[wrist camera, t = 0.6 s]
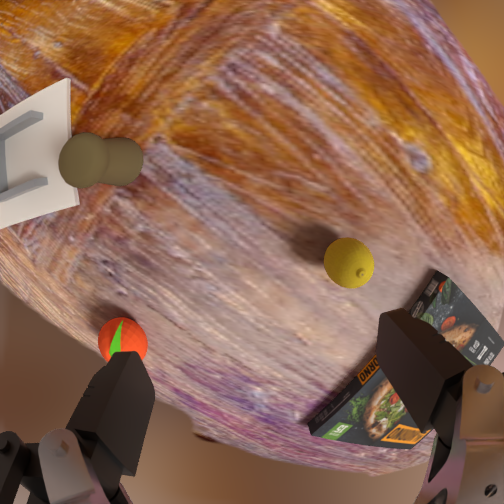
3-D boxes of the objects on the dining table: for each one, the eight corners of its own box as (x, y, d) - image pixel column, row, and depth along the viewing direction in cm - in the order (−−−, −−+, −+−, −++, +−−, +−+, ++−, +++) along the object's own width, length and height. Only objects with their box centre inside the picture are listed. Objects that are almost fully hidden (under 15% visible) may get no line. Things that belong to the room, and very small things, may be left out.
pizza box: (496, 336, 44) (505, 343, 40) (405, 440, 51) (410, 449, 48) (435, 269, 37) (448, 277, 34) (307, 421, 44) (310, 435, 41)
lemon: (308, 261, 35) (327, 286, 27) (330, 223, 33) (356, 238, 26) (342, 279, 36) (366, 306, 28) (363, 243, 34) (394, 262, 27)
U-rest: (-8, 123, 25) (-23, 122, 21) (70, 79, 26) (55, 72, 22) (1, 228, 30) (-14, 234, 27) (79, 204, 31) (63, 208, 27)
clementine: (111, 295, 34) (89, 320, 28) (157, 311, 35) (143, 339, 29) (107, 340, 36) (89, 368, 30) (149, 355, 37) (137, 386, 31)
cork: (134, 192, 31) (91, 203, 20) (94, 178, 30) (42, 184, 19) (150, 144, 30) (111, 133, 19) (108, 132, 29) (60, 120, 18)
